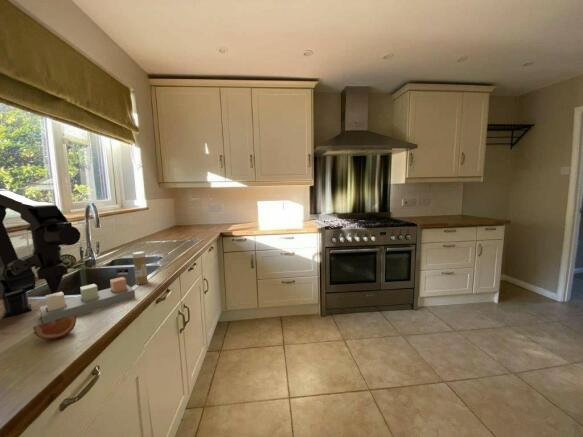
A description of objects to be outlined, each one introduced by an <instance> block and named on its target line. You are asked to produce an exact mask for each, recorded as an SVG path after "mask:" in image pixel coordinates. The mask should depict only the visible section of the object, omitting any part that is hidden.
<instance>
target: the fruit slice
mask: <svg viewBox="0 0 583 437" xmlns="http://www.w3.org/2000/svg"><path fill="white" fill-rule="evenodd" d="M76 323H77V316H76V315H75V314H74V315H70V316H67V317H65V318H60V319H57V320H55V321H54V322H49V323H45V324H43V323H42V324H39V325H34V326H33V327H32V329H33V331H34V332H33V334H34V335H36V337H37V338H39V339H44V340H57V339H61V338H64V337H65V336H68V334H70V333H71V332H72V331H73V330H74V328H75V326H76Z"/></svg>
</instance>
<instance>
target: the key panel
mask: <svg viewBox="0 0 583 437" xmlns="http://www.w3.org/2000/svg"><path fill="white" fill-rule="evenodd" d="M98 296H99V298H96V299H92V300H88V301H85V302H83V301H82V298H81V295H80V296H75V297H71V298H68V299H65V305H66V307H64V308H60V309H56V310H53V311H49V312H48V310H47V304H45V305H42V306H39V311H40V316H41V320H42V324H45V323H49V322H54V321H55V320H57V319H60V318H65V317H67V316H70V315H74V314H75V315H76V317H78V316H80V315H85V314H87V313H90V312H94V311H96V310H97V311H98V310H101V309H105V308H106V307H110V306H114V305H116V304H119V303H123V302H126V301H130V300H133V299H136V292H135V289H134V288H133V287H131V286H130V285H128V284H127V290H124V291H120V292H117V293H112V292H111V287H109V288H105V289H101V290H98Z"/></svg>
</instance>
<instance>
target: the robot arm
mask: <svg viewBox="0 0 583 437" xmlns="http://www.w3.org/2000/svg"><path fill="white" fill-rule="evenodd" d="M7 209H9V210H11V211H13V212H16V213H18V214H20V219H22V220H23V221H24V222H26V223H28V224H29V226H27V227H26V229H25V230H26V231H27V232H28V231H29V232H30V233H31V240H32V246H33V249H32V250H31V251H32V253H31V254H28V255H26V256H24V257H18V254H17V252H16V250H15V247H14V245H13V243H12V240H11V238H10V235H9V234H8V233H9V232H8V231H7V229H6V227H5V224H4V220H5V218H6V216H7ZM80 239H81V232H80V231H79V229H78V228H77V227H75V226H73V225H72V222H69V220H68V218H67V217H66V216H65V215H64V214H63V213H62V211H61V210H60V208H59V207H58V206H57V205H56V204H55V203H52V202H51V203H50V202H44V201H35V200H32V199H29V198H26V197H25V196H22V195H20V194H18V193H15V192H13V191H11V190H10V189H6V188H0V300H1V301H2V307H3V310H2V318H8V317H12V316H14V315H19V314H22V313H26V312H30V311H32V309H33V308H32V304H31V303H30V301H29V297H28V296H29V294H28V292H29V291H33V290H36V284H37V283H36V282H37V279H38V280H45V282H46V284H47V286H48V289H49V291H50V294H54V293H58V289H59V287H60V284H61V283H62V279H63V277H64V276H65V275H67V274H68V273H69V271H68V270H69V269H68V267H67V265H65V264H63V263H64V262H63V258H62V251H61V250H62V247H61V246H73V245H76V244H77V243H78V242H79V241H80ZM32 268H34V269H35V270H36V274H35V272H34V271H33V269H32ZM36 275H37V277H36Z"/></svg>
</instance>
